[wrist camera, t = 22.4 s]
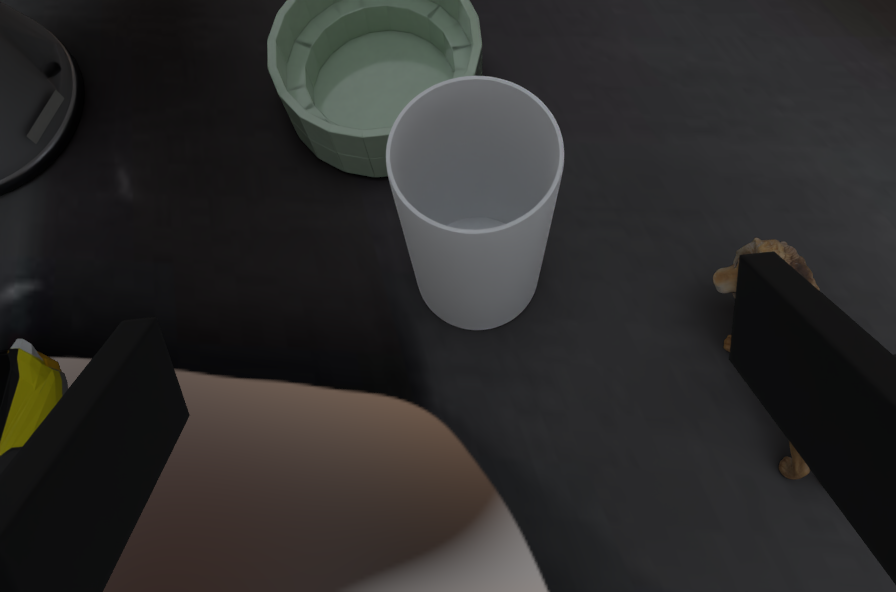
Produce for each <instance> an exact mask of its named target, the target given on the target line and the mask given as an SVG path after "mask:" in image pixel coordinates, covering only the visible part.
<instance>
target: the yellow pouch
mask: <svg viewBox="0 0 896 592" xmlns="http://www.w3.org/2000/svg"><path fill="white" fill-rule="evenodd" d="M67 390H68V385H67V380H66V377H65V374H64V373H62V371H61V369H60V366H59V363H58V362H57V361H55V360H53V359H51V358H50V357H48V356H46V355H44V354H42V353H40V352H38V351H36V350H35V348H34V347H33V346H32V344H30V343H29V342H27V341H25V340H24V339H17V340H16V341H15V343H14V344H13V346H12V347H11V348H10V349H9V350H8V351H7V350H0V456H1V455H2V454H3V453H5V452H6V451H7V450H9V449H10V448H13V447H23V445H24V444H25V443H26V442H27V440H28V439H29V438H30V437H31V435H32V434H33V433H34V432H35V430H36V429H37V428H38V426H39V425H40V424H41V423H42V421H43V420H44V419H45V418H46V416H47V415H48V414H49V413H50V411H51V410H52V409H53V408H54V406H55V405H56V404H57V403H58V401H59V400H60V399H61V398H62V396H63V395H64V394H65V392H66V391H67Z"/></svg>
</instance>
